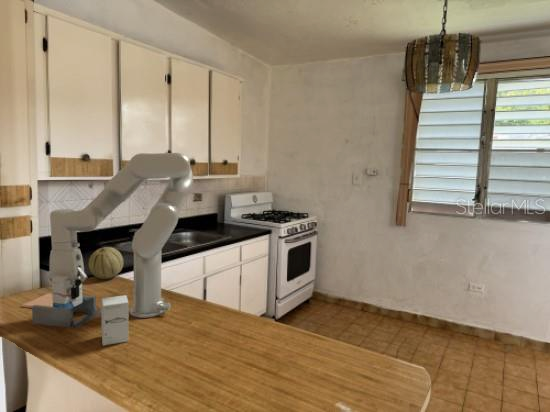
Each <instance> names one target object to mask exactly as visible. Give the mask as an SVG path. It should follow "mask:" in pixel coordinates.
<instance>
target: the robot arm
mask: <svg viewBox="0 0 550 412" xmlns="http://www.w3.org/2000/svg"><path fill="white" fill-rule="evenodd" d="M190 162H191V161H190V159H189V158H188V157H187V156H186V155H185V154H184V153H180V152H165V153H163V152H162V153H161V152H160V153H142V152H141V153H137V154H134V155H133V156H132V157H131V159H130V160H129V161H128V162H127V163H126V164H125V165H124V166H123V167H122V168H121V169H120V170H119V171H118V172H117V173H116V174H115V175H114V176H113V177H111V179H109V180H108V182H107V183H106V184H105V186H104V188H103V189H102V191H101V192H100V193H98V195H97V196H95V198H93V199H92V201H91V202H89V203H88V205H86V206H85V207H84V208H82V209H80V210H73V209H68V208H64V209H62V208H60V209H55V210H52V211H51V212H50V214H49V219H50V220H49V222H50V236H51V237H50V239H51V250H50V252H49V253H50V254H49V271H48V272H47V274H46V278H48V280H50V282H51V283H52V277H53V276H54V275H61V276H68V278H69V279H70V281H71V284H72V288H71V298H72V299H75V298H77V297H79V294H80V292H79V286H80V285H81V283H82V284H83V282H84V281H86V279H88V276H87V274H86V273H85V266H84V259H83V255H82V252H81V249H80V248H79V247H80V246H81V245H80V242H78V234H77V233H78V232H85V233H86V232H92V231H94V230H95V229H96V228H97V227H98V226H99V225H100V224H102V222H103V221H104V220H105V219H106V218H107V217H108V216H109V215H110V214H112V212H114V211H115V209H116V208H118V207H119V206H120V205H121V204H123V203H124V202H126V201H127V200H128V199H129V198H130V197H131V196H132V195H133V194H134V193H135V192H136V191H137V190H138V189H139V188H140V187H141V186H143V184H144V183H146V181H148V180H151V179H152V180H155V179H157V180H158V179H169V181H168V183H167V185H166V186H165V188H164V190H163V192H162V194H161V195H160V197H159V198H158V200H157V201H156V203H155V204H154V205H153V206H152V208H151V209H150V212H149V214H148V215H147V217H146V219H145V221H144V222H143V224H142V225H141V227H140V228H138V230H136V232H135V233H134V235H133V238H132V243H131V248H132V251H133V305H132V306H131V307H130V308H129V315H130V316H132V317H134V318H138V319H139V318H141V319H142V318H143V319H146V318H147V319H149V318H154V317H158V316H160V315H162V314H163V313H165V311H170V310H171V307H172V305H171V302H165V299H164V297H162V249H163V247H164V246H165V244H166V243H167V242H168V240H169V238H170V236H171V235H172V233H173V231H174V230H175V228H176V227H177V224H178V221H179V213H180V211H181V210H182V208H183V206H184V205H185V203H186V201H187V199H188V198H189V196H190V195H191V191H192V189H193V185H194V175H193V171H192V167H191V163H190ZM79 276H80V277H81V278H80V279H79ZM75 280H76V283H75Z"/></svg>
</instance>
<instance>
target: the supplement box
mask: <svg viewBox="0 0 550 412" xmlns="http://www.w3.org/2000/svg"><path fill="white" fill-rule="evenodd" d="M100 301H101V302H100V306H101V308H100V309H101V313H100V315H101V329H100V330H101V340H102V341H101V343H102V346H103V347H105V346H109V345H113V344H120V343H126V342H129V337H130V336H129V333H130V332H129V330H130V329H129V317H130V316H129V315H130V314H129V309H130V308H129V305H130V304H129V300H128V295H126V294H125V295H118V296H117V295H115V296H107V297H106V296H105V297H101V298H100Z"/></svg>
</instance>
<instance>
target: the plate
mask: <svg viewBox="0 0 550 412" xmlns="http://www.w3.org/2000/svg"><path fill="white" fill-rule="evenodd" d="M33 305H42V306H51V307H53V297H52V292H48V293H46V294H44V295H41V296H39V297H37V298H35V299H33V300H30V301H27V302H26V303H23V304H21V308H26V309H32V306H33Z"/></svg>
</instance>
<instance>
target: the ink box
mask: <svg viewBox="0 0 550 412" xmlns="http://www.w3.org/2000/svg"><path fill="white" fill-rule="evenodd" d="M80 278H81V277H80V276H79V279H80ZM75 283H76V280H75ZM71 288H72V284H71V281H70V279H69V278H68V276H61V275H54V276H53V277H52V282H51V291H52V292H51V293H52V297H53V307H60V308H69V309H71V308H73V307H75V306H77V305H79V304H81V303H82V295H83V282H82V283H81V285H80V286H79V292H80V294H79V297H77V298H75V299H72V298H71Z"/></svg>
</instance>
